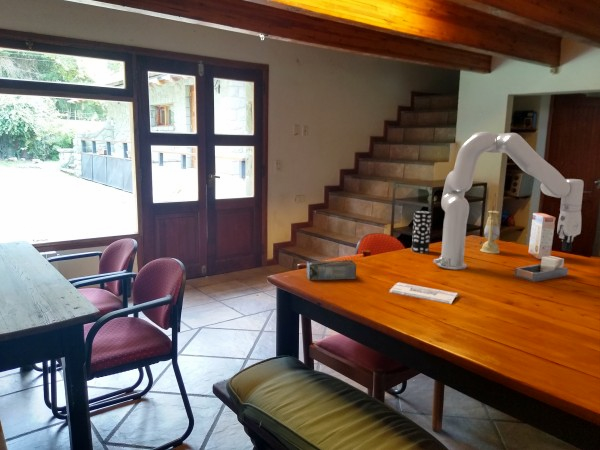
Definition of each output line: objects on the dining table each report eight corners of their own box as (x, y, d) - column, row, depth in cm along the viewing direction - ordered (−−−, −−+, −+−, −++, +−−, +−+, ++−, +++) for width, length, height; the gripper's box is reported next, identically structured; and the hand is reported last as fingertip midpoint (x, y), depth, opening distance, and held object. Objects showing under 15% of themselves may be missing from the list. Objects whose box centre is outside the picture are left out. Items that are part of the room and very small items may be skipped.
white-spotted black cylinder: (427, 249, 233) (429, 211, 230) (430, 253, 225) (432, 213, 222) (410, 249, 234) (413, 210, 231) (412, 252, 226) (415, 212, 223)
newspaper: (459, 296, 163) (459, 289, 162) (451, 309, 153) (451, 302, 152) (398, 284, 174) (398, 278, 174) (386, 296, 164) (386, 290, 164)
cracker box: (551, 260, 217) (556, 217, 213) (537, 259, 218) (542, 216, 214) (540, 253, 230) (545, 212, 227) (527, 253, 231) (532, 212, 228)
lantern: (480, 248, 240) (485, 191, 235) (500, 250, 235) (506, 192, 230) (477, 252, 230) (482, 193, 225) (498, 255, 225) (504, 194, 220)
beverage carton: (305, 275, 184) (306, 259, 183) (352, 274, 186) (352, 258, 185) (308, 280, 176) (309, 264, 175) (357, 280, 179) (357, 263, 177)
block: (553, 274, 189) (555, 260, 188) (540, 270, 194) (541, 257, 193) (562, 272, 192) (564, 258, 191) (548, 269, 197) (550, 255, 196)
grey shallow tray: (534, 281, 180) (535, 273, 180) (514, 276, 188) (514, 268, 188) (567, 275, 191) (568, 267, 190) (546, 270, 199) (547, 262, 198)
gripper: (568, 210, 185) (564, 254, 188) (589, 208, 192) (585, 250, 195) (551, 208, 192) (547, 251, 195) (572, 206, 199) (567, 247, 202)
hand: (566, 250), depth 195 cm, fingers closed
